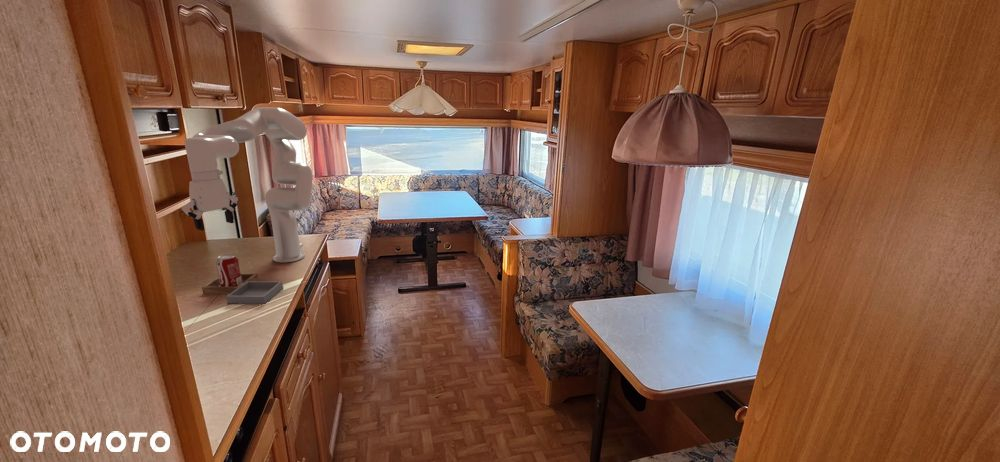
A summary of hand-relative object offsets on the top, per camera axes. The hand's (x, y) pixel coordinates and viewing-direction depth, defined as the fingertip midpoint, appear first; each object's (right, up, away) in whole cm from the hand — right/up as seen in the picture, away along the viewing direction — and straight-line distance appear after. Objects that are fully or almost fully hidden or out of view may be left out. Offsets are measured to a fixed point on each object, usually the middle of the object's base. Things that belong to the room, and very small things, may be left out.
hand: (215, 226), depth 137 cm
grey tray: (+10, -25, +6) cm, 28 cm away
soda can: (-4, -23, +14) cm, 27 cm away
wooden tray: (-4, -22, +14) cm, 26 cm away
